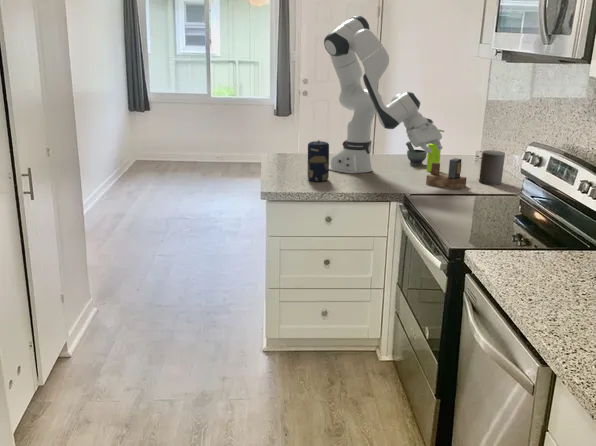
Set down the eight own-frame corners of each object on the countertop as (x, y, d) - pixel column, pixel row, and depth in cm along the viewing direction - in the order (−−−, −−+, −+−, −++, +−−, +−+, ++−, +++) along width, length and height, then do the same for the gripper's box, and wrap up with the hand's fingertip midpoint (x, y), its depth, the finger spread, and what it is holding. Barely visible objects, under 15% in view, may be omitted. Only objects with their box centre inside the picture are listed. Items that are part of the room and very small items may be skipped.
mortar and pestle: (420, 162, 307) (422, 139, 304) (429, 165, 299) (431, 142, 295) (400, 163, 304) (402, 140, 300) (409, 167, 296) (410, 143, 292)
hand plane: (426, 184, 261) (427, 164, 259) (434, 181, 267) (436, 161, 264) (457, 189, 252) (459, 169, 249) (465, 186, 258) (467, 166, 255)
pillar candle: (475, 182, 265) (479, 149, 260) (483, 178, 272) (487, 146, 267) (497, 186, 259) (501, 152, 254) (504, 182, 267) (508, 149, 262)
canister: (331, 178, 270) (332, 139, 264) (323, 183, 262) (324, 142, 256) (312, 176, 274) (313, 137, 268) (303, 181, 265) (304, 141, 260)
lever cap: (447, 187, 256) (449, 159, 253) (452, 185, 260) (455, 158, 257) (455, 188, 254) (458, 161, 251) (460, 186, 258) (463, 159, 254)
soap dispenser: (441, 172, 284) (444, 130, 278) (426, 172, 285) (429, 130, 279) (440, 170, 289) (444, 129, 283) (426, 169, 290) (429, 128, 284)
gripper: (409, 123, 252) (428, 149, 249) (433, 119, 266) (451, 143, 263) (399, 133, 256) (418, 158, 253) (424, 128, 271) (441, 152, 267)
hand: (435, 150), depth 258 cm, fingers open, 8 cm apart
